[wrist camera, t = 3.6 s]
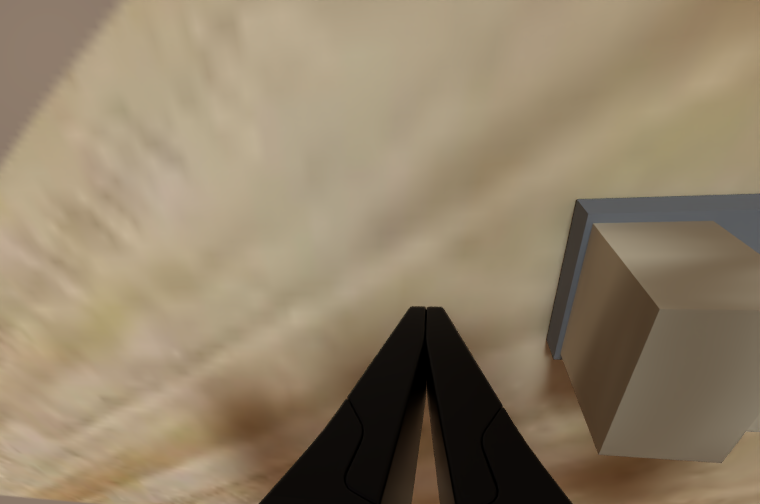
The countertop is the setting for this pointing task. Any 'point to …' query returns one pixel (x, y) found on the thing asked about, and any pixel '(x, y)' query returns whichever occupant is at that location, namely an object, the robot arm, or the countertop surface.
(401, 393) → the robot arm
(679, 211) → the mat
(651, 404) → the t block
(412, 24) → the countertop surface
